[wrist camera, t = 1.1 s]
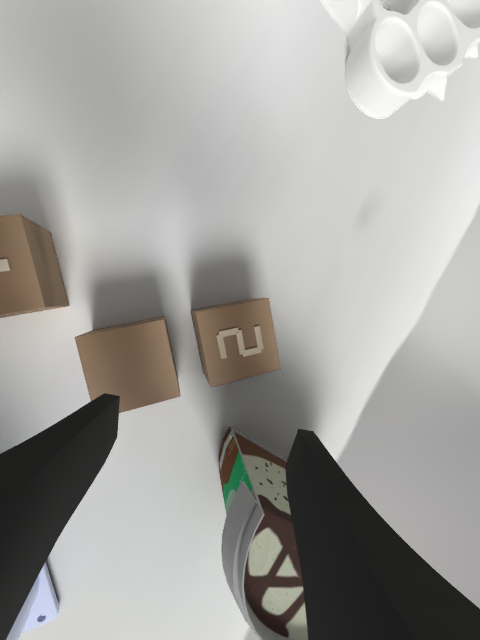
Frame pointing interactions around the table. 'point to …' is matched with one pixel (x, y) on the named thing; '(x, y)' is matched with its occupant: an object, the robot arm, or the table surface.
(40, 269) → the block one
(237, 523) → the food container
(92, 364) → the plain block
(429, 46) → the grey egg carton
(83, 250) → the table surface
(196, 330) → the block two
